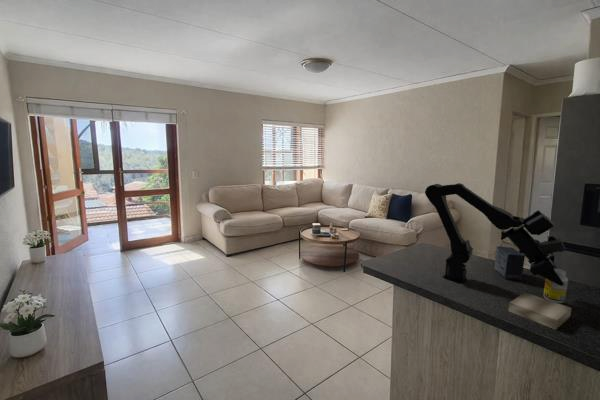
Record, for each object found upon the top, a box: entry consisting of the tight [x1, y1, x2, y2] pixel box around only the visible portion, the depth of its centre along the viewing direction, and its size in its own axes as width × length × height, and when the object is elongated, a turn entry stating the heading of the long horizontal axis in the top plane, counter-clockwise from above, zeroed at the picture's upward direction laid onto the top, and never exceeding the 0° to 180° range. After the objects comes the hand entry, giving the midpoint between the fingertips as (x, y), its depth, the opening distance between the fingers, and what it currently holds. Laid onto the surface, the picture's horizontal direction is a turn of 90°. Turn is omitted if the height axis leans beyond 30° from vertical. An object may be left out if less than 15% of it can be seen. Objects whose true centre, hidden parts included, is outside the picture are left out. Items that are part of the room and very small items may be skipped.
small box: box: [493, 245, 526, 281], centre depth 122 cm, size 11×6×10 cm, turn 168°
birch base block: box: [507, 292, 572, 330], centre depth 93 cm, size 12×12×3 cm
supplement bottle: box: [543, 268, 569, 304], centre depth 99 cm, size 6×6×10 cm
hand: (562, 282), depth 98 cm, fingers closed on supplement bottle, 6 cm apart
